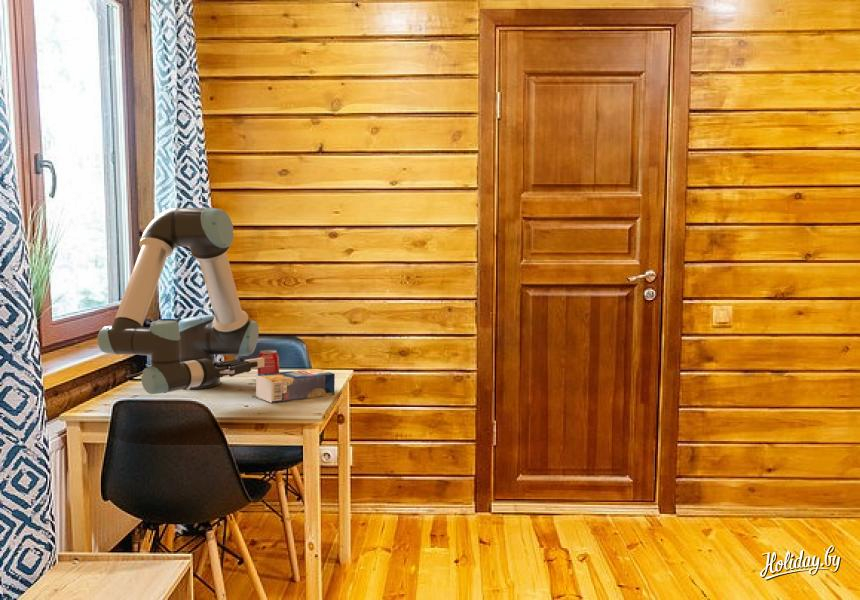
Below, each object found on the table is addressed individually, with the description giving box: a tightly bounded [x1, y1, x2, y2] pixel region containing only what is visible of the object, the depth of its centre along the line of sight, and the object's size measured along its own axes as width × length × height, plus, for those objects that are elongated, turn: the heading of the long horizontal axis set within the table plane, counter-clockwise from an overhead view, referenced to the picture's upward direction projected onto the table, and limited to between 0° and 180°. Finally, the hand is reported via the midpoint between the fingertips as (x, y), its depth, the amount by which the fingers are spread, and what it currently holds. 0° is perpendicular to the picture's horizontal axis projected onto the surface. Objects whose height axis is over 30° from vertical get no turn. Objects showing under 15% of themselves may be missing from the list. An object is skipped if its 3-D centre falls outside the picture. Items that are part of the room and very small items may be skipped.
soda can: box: [257, 349, 280, 375], centre depth 249 cm, size 7×7×12 cm
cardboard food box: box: [255, 368, 336, 404], centre depth 236 cm, size 7×11×22 cm
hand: (262, 362), depth 229 cm, fingers closed
